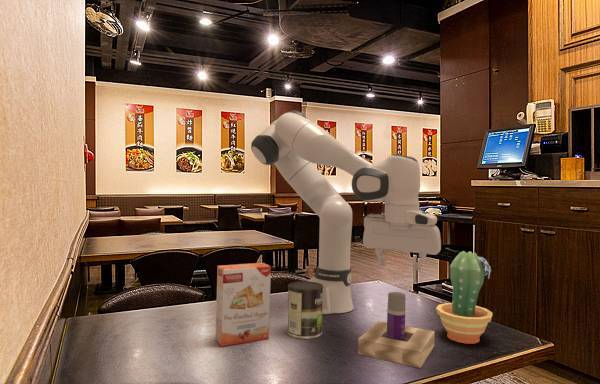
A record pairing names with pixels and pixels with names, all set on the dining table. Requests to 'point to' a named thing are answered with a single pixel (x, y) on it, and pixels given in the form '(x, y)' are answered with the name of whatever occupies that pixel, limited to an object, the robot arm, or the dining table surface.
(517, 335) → the dining table surface
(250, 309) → the cracker box
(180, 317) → the dining table surface
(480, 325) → the potted cactus
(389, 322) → the container
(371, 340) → the organizer block
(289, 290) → the coffee can
